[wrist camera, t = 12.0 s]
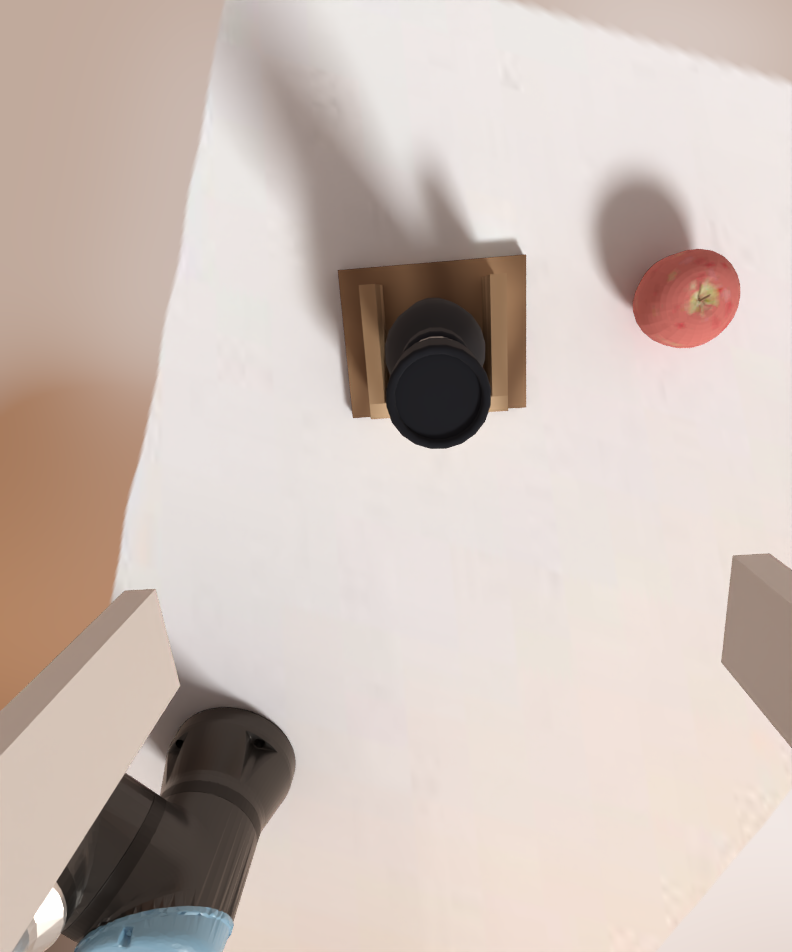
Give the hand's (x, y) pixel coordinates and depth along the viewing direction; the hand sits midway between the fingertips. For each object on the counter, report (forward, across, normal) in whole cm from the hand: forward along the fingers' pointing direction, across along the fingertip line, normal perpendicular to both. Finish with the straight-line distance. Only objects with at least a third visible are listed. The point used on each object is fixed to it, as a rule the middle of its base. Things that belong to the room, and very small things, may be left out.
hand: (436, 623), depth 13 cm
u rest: (+40, +1, +4) cm, 40 cm away
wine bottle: (+39, +1, +4) cm, 39 cm away
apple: (+40, +21, +5) cm, 45 cm away
